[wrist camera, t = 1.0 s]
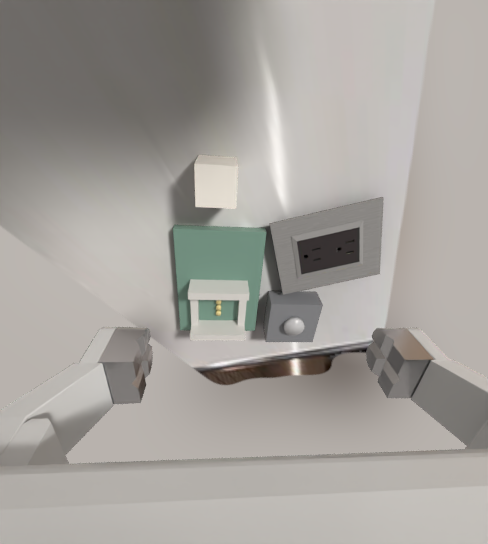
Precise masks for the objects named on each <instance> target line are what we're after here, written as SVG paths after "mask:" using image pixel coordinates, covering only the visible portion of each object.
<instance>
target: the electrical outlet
mask: <svg viewBox="0 0 488 544" xmlns="http://www.w3.org/2000/svg"><path fill="white" fill-rule="evenodd" d="M382 217H383V197H380V198H376V199H371V200H367V201H363V202H359V203H354V204H350V205H346V206H342V207H337V208H333V209H329V210H325V211H320V212H316V213H312V214H308V215H303V216H299V217H295V218H291V219H286V220H282V221H278V222H274V223H269V224H270V229H271V235H272V240H273V245H274V251H275V256H276V261H277V267H278V272H279V277H280V283H281V288H282V293H283V295H284V294H289V293H293V292H298V291H302V290H307V289H312V288H316V287H321V286H326V285H330V284H335V283H340V282H344V281H349V280H353V279H358V278H363V277H367V276H372V275H377V274H380V257H381V237H382Z"/></svg>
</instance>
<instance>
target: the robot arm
mask: <svg viewBox="0 0 488 544" xmlns="http://www.w3.org/2000/svg"><path fill="white" fill-rule="evenodd" d="M372 338H373V340H374V342H373V343H371V344H370V345H369V346H368V349H367V352H366V355H367V363H368V366H369V368H370V370H371V371H372V372H373V373H374V374H376V375H377V376H379V378H378V383H379V385H380V386H381V388H382V390H383V391H384V393H385V395H386V396H387V398H411V400H412V401H413V402H415V403H416V404H417V405H418V406H419V407H421V408H422V409H423V410H424V411H426V412H427V413H428V414H429V415H430V416H431V417H433V418H434V419H435V420H436V421H438V422H439V423H440V424H441V425H442V426H444V427H445V428H446V429H447V430H448V431H450V432H451V433H452V434H453V435H455V436H456V437H457V438H458V439H459V440H460V441H462V442H463V443H464V444H465V445H467V447H466V448H465V449H459V450H433V451H432V450H431V451H406V452H379V453H352V454H327V455H298V456H273V457H245V458H244V457H243V458H217V459H216V458H215V459H188V460H161V461H136V462H135V461H134V462H107V463H78V464H69V462H68V460H67V458H66V456H65V455H66V454H67V453H68V452H69V451H70V450H71V449H72V448H73V447H74V446H75V445H76V444H77V443H78V442H79V440H81V438H83V436H85V434H86V433H87V432H88V431H89V430H90V429H91V428H92V427H93V426H94V425H95V424H96V423H97V422H98V421H99V420H100V419H101V418H102V417H103V416H104V415H105V414H106V413H107V412H108V411H109V410H110V409H111V408H112V407H113V404H128V403H141V400H142V397H143V394H144V390H145V387H146V382H145V378H146V377H147V376H148V375H149V374H150V370H151V365H152V346H150V345H149V344H148V342H149V340H150V332H149V329H148V328H133V327H118V328H117V327H103V328H101V329H99V331H98V332H97V334H96V336H95V337H94V339H93V340H92V342H91V344H90V345H89V347H88V349H87V350H86V352H85V353H84V355H83V357H82V358H81V360H80V362H79V363H74V364H72V365H70V366H69V367H67V368H66V369H64V370H62V371H61V372H60V373H58V374H56V375H55V376H53V377H51V378H50V379H49V380H47V381H45V382H44V383H42V384H41V385H39V386H37V387H36V388H34V389H33V390H31V391H30V392H28V393H26V394H25V395H23V396H22V397H20V398H19V399H17V400H15V401H14V402H12V403H11V404H9V405H8V406H6V407H5V408H3V409H1V410H0V544H488V378H487V377H485V376H483V375H482V374H480V373H478V372H476V371H474V370H472V369H470V368H468V367H467V366H465V365H463V364H461V363H459V362H457V361H455V360H450V359H449V358H448V357H447V356H446V355H445V354H444V353H443V352H442V351H441V350H440V349H439V348H438V347H437V346H436V345H435V344H434V343H433V342H432V341H431V340H430V339H429V338H428V336H426V334H425V333H424V332H423V331H422V330H420V329H418V328H377V329H376V330H375V331H374V332H373V335H372Z"/></svg>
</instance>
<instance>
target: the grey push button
mask: <svg viewBox="0 0 488 544" xmlns="http://www.w3.org/2000/svg"><path fill="white" fill-rule="evenodd" d="M322 306H323V305H322V303H321V300H320V298H319V296H318V294H317V292H293V293H289V294H284V295H283V293H282V291H268V298H267V305H266V312H265V319H264V326H263V329H264V334H265V340H266V342H313V338H314V335H315V331H316V327H317V324H318V320H319V317H320V313H321V309H322Z"/></svg>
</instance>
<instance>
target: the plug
mask: <svg viewBox="0 0 488 544" xmlns="http://www.w3.org/2000/svg"><path fill="white" fill-rule="evenodd" d="M194 173H195V207H207V208H229V209H236V203H237V185H238V162H237V158H236V157H227V156H211V155H198V157H197V159H196V161H195V163H194Z"/></svg>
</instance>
